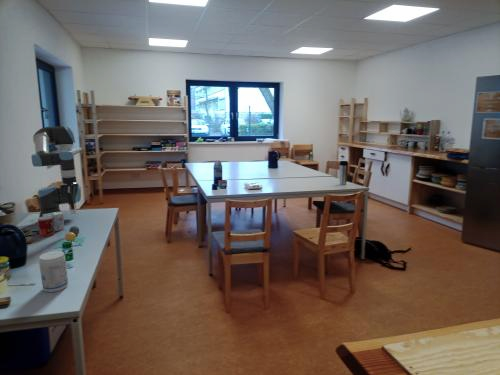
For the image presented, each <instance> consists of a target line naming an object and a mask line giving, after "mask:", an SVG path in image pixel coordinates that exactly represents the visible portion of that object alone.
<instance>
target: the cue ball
mask: <svg viewBox="0 0 500 375" xmlns="http://www.w3.org/2000/svg"><path fill="white" fill-rule="evenodd" d="M68 231H69V232H72V233H74V234H75V235H78V234H79V233H80V227H78V226H76V225H74V226H71V227H70V228H69V230H68ZM69 232H68V233H69Z"/></svg>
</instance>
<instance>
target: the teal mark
mask: <svg viewBox="0 0 500 375" xmlns="http://www.w3.org/2000/svg"><path fill="white" fill-rule="evenodd" d="M84 239H86V236H83V237H76V238H75V240H74V241H73V242H75V243H76V245H77V244H81V245H80V246H83V244H84V241H85V240H84ZM62 242H66V239H65V238H63V239H62V238H61V239H58V241H57V243H56V244H55V245H54V249H62V248H61V243H62ZM75 243H74V244H75ZM72 247H75V246H74V245H73V246H72Z"/></svg>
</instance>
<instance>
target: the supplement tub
mask: <svg viewBox="0 0 500 375" xmlns="http://www.w3.org/2000/svg"><path fill="white" fill-rule="evenodd" d="M38 261H39V262H38V264H39V270H40V276H41V278H40V279H41V284H42V285H41V286H42V289H43V291H45V292H46V293H47V292H48V293H55V292H59V291H62V290H65V288H67V287H68V285H69V278H68V270H67V269H68V268H67V262H66V255H65V252H63V251H61V250H53V251H49V252H45V253H42V254H40V255H39V258H38Z"/></svg>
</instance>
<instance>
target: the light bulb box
mask: <svg viewBox="0 0 500 375" xmlns="http://www.w3.org/2000/svg"><path fill="white" fill-rule="evenodd" d="M61 212H62V211H61ZM61 212H54V213H49V214H43V216H52V217H53V223H54V230H55V232H58V231H63V230H65V222H64V219H63V217H64V213H63V212H62V213H61Z"/></svg>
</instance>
